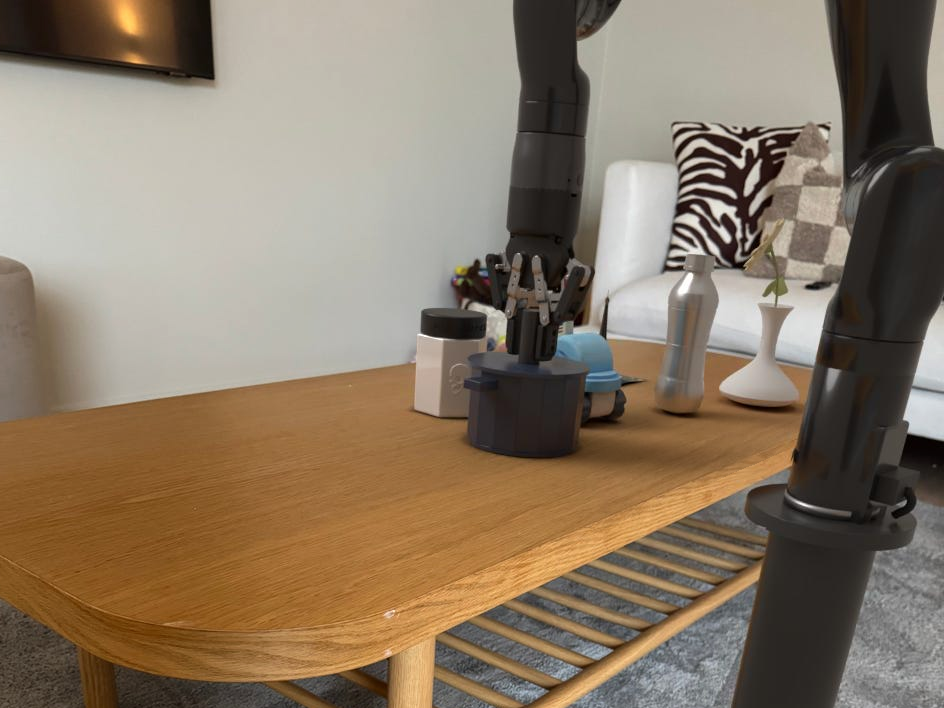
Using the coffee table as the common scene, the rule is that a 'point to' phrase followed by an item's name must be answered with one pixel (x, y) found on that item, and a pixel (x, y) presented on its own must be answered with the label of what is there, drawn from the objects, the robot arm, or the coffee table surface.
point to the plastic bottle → (687, 337)
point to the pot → (524, 414)
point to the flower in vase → (765, 346)
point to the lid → (528, 357)
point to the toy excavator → (592, 371)
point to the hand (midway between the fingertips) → (529, 356)
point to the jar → (447, 359)
